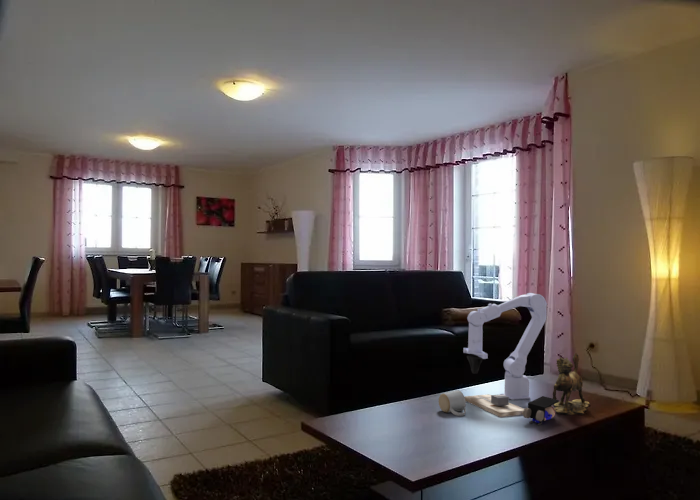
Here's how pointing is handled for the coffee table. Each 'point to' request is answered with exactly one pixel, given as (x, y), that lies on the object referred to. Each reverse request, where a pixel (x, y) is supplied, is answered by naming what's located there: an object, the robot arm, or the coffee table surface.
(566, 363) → the figurine
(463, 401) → the ceramic mug
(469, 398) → the fader console
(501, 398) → the fader tab
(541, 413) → the figurine character
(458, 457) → the coffee table surface
